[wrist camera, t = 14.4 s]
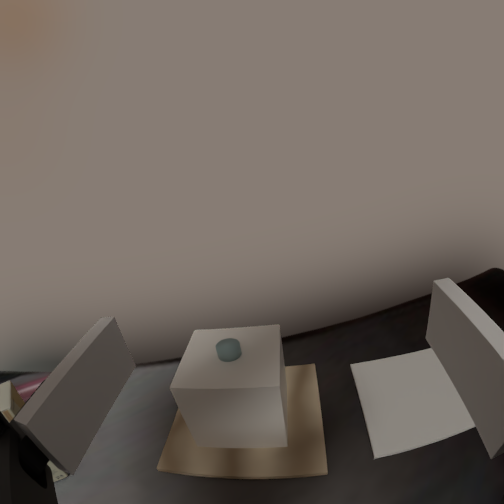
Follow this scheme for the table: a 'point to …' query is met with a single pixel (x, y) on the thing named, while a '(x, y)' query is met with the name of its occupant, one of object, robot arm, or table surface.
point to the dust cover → (234, 388)
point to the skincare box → (9, 405)
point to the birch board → (259, 459)
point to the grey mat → (408, 402)
